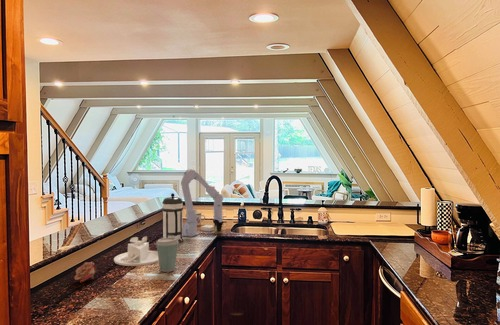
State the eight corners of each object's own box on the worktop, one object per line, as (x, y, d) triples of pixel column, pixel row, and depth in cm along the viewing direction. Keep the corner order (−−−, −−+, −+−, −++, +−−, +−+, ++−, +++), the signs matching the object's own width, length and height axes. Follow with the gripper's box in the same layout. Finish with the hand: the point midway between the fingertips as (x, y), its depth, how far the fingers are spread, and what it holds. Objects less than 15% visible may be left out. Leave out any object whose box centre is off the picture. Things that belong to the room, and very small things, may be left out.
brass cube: (222, 233, 255) (222, 226, 255) (215, 233, 254) (215, 226, 254) (220, 231, 260) (220, 224, 260) (213, 232, 259) (213, 225, 258)
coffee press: (154, 242, 230) (154, 194, 229) (171, 237, 244) (171, 191, 243) (176, 245, 222) (176, 195, 221) (192, 240, 236) (192, 193, 235)
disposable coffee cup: (156, 274, 171) (156, 242, 170) (155, 267, 181) (155, 236, 181) (179, 272, 174) (179, 240, 173) (177, 265, 184) (177, 235, 184)
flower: (95, 271, 170) (84, 258, 167) (105, 271, 164) (94, 258, 162) (79, 288, 164) (67, 275, 161) (89, 288, 158) (77, 276, 155)
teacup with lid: (189, 226, 280) (189, 210, 280) (189, 223, 289) (189, 208, 289) (205, 225, 281) (205, 210, 281) (205, 223, 290) (205, 208, 290)
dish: (113, 255, 203) (113, 234, 203) (160, 251, 212) (160, 231, 211) (114, 268, 180) (113, 245, 180) (166, 263, 189) (166, 241, 188)
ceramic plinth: (210, 232, 261) (210, 227, 261) (200, 230, 265) (200, 226, 265) (216, 229, 268) (216, 225, 268) (207, 228, 272) (206, 224, 272)
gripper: (226, 212, 251) (226, 232, 251) (221, 209, 265) (221, 228, 265) (216, 213, 249) (216, 233, 249) (211, 209, 262) (211, 228, 263)
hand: (218, 230), depth 257 cm, fingers closed on brass cube, 5 cm apart
